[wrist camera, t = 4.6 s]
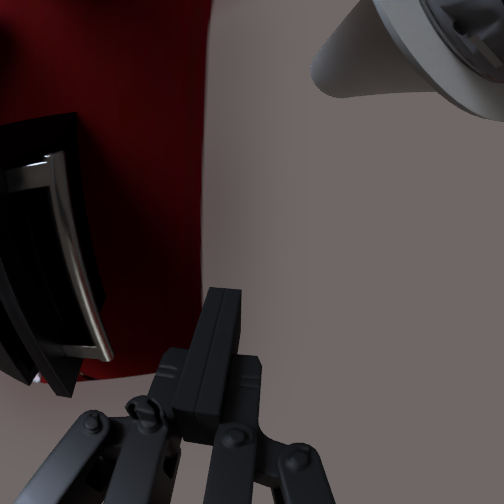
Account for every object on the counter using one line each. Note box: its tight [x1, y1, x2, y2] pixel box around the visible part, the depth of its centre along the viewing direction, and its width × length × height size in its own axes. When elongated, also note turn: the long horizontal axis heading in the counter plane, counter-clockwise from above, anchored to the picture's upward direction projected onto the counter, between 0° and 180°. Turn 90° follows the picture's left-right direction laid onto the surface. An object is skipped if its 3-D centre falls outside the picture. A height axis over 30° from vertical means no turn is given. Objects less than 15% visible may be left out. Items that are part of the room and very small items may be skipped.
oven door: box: [0, 112, 115, 398], centre depth 19 cm, size 6×20×14 cm, turn 177°
